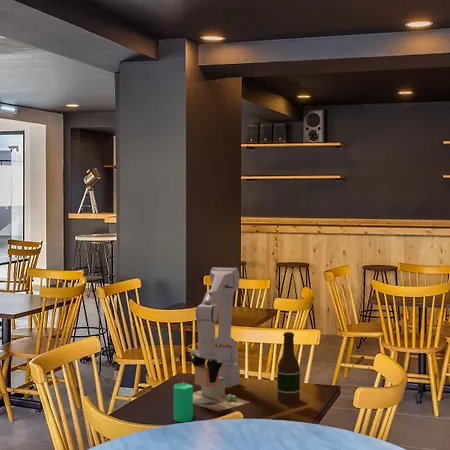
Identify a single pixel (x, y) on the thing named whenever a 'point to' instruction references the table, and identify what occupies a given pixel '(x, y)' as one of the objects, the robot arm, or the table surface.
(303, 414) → the table surface
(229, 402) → the board
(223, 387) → the grey square box
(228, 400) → the three marbles
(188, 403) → the candle
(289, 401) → the beer bottle
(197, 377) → the small tan cube
